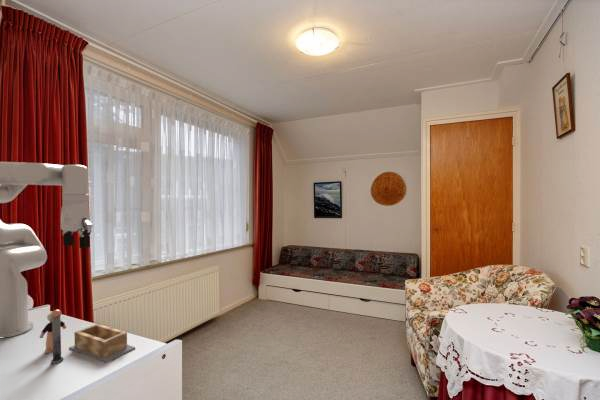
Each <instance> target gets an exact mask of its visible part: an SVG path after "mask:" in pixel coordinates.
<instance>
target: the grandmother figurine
mask: <svg viewBox="0 0 600 400" xmlns="http://www.w3.org/2000/svg"><path fill="white" fill-rule="evenodd" d="M51 313H52V311H51V312H49V313H48V315H47V316H46V318H47V320H48V323H47V324H45V327H44V328H43V329H42V331H41V333H40V335H39V338H40V339H43V338H44V336H45V335H46V334H47V335H46V340H45V350H44V352H45V353H46V354H49V353H51V352H52V353H53V337H52V317H51ZM60 324H61V328H62V329H63V330H65V329H66V328H67V326H66V324H65V322H64V321H62V320H60Z"/></svg>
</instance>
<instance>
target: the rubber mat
mask: <svg viewBox="0 0 600 400" xmlns="http://www.w3.org/2000/svg"><path fill="white" fill-rule="evenodd" d="M68 348H69V350H70V351H74V352H77V353H79V354H82V355H83V356H87V357H90V358H92V359H95V360H97V361H100V362H103V363H104V364H108V363H110V362H112V361H113V360H115V359H118V358H119V357H122V356H124V355H126V354H127V353H130V352H131V351H132V352H133V351H134V350H135V349H136V347H135V346H134V345H133V346H132V345H129V344H127V347H126V348H124V349H122V350H120V351H117V352H115V353H113V354H111V355H109V356H107V357H105V358H103V357H101V356H98V355H95V354H93V353H90V352H87V351H84V350H82V349H79V348H76V347H75V344H73V345H72V346H69V347H68Z"/></svg>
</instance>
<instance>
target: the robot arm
mask: <svg viewBox="0 0 600 400" xmlns="http://www.w3.org/2000/svg"><path fill="white" fill-rule="evenodd" d="M28 185H31V186H33V185H34V186H36V185H37V186H61V190H62V192H61V194H62V196H61V197H62V198H61V199H62V204H61V205H62V206H61V211H60V213H61V214H60V230H61V231H62V233H61V234H62V240H63V242H62V243H63V244H62V245H63V247H68V246H74V245H75V239H74V238H75V236H74V232H77V233H78V234H79V235H80V236H79V237H78V241H79V243H78V247H79V249H85V248H90V246H91V244H90V243H91V242H90V241H91V238H90V237H91V233H92V228H93V223H91V220H90V218H91V217H90V207H89V169H88V167H87V166H85V165H82V164H64V165H63V164H53V163H43V162H26V161H25V162H24V161H23V162H22V161H21V162H19V161H18V162H17V161H0V204H6V203H10V202H11V201H13V200H15V198H16V197H18V195H19V194H20V193H21V192H22V191H23V190H24V189H25V188H26V187H27V186H28ZM47 260H48V255H47V250H46V249H45V247H44V245H43V244H42V242H41V240H40V239H39V237H38V236H37V235H36V232H35V231H34V230H33V229H32V228H31V227H30V226H29V225H27V224H24V223H5V222H3V221H2V219H1V218H0V337H8V338H13V337H15V336H18V335H19V336H20V335H21V334H24V333H27V332H28V331H31V330H32V329H33V328H34V325H35V324H34V322H32V321H29V306H28V305H29V299H28V298H29V297H28V281H27V280H26V278H25V277H24V276H23V275H22V272H24V271H28V270H32V269H36V268H39V267H40V268H41V266H43V265H44V264H46V262H47Z"/></svg>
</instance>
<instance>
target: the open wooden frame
mask: <svg viewBox="0 0 600 400" xmlns="http://www.w3.org/2000/svg"><path fill="white" fill-rule="evenodd" d="M73 334H74V345H75V347H76V348H79V349H82V350H84V351H87V352H90V353H93V354H95V355H98V356H101V357H103V358H105V357H107V356H109V355H111V354H113V353H115V352H117V351H120V350H122V349H124V348H126V347H127V345H128V332H127V331H124V330H121V329H118V328H113V327H110V326H107V325H104V324H100V323H96V324H92V325H90V326H88V327H85V328H82V329H79V330H77V331H75V332H74V333H73Z"/></svg>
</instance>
